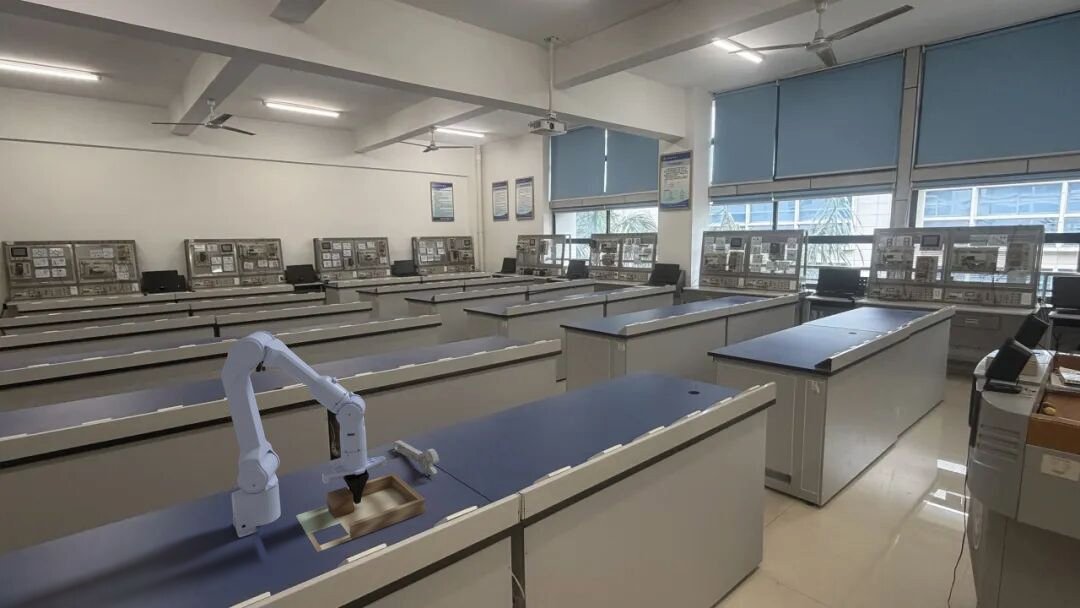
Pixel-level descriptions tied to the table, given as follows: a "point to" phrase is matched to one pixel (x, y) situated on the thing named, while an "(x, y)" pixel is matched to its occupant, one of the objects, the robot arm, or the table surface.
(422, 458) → the wrench
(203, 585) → the table surface
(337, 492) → the walnut block
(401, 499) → the cubby base
